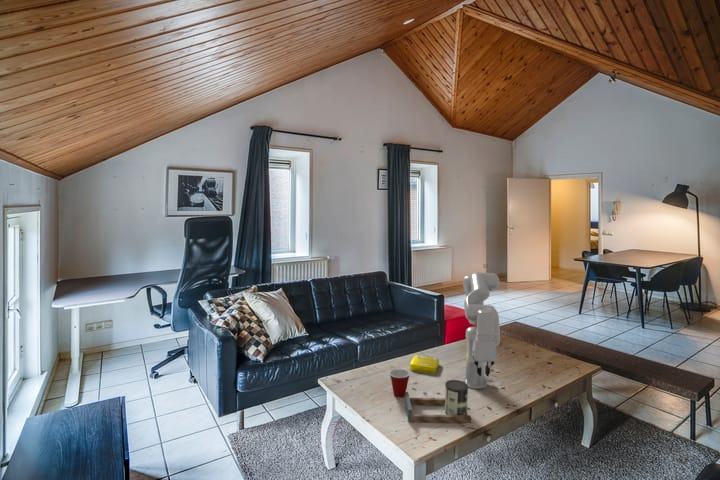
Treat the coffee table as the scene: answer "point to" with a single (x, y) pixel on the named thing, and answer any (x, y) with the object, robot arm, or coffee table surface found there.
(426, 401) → the frame
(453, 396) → the coffee can
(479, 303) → the robot arm
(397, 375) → the plastic cup
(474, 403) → the coffee table surface
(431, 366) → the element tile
